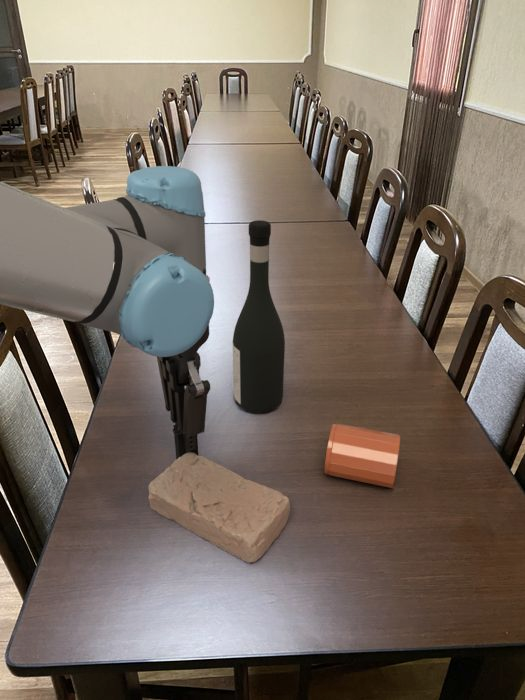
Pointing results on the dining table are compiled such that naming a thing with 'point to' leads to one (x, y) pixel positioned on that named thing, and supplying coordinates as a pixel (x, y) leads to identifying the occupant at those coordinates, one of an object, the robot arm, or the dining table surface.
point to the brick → (220, 506)
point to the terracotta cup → (362, 455)
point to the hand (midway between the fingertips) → (187, 461)
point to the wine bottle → (258, 334)
